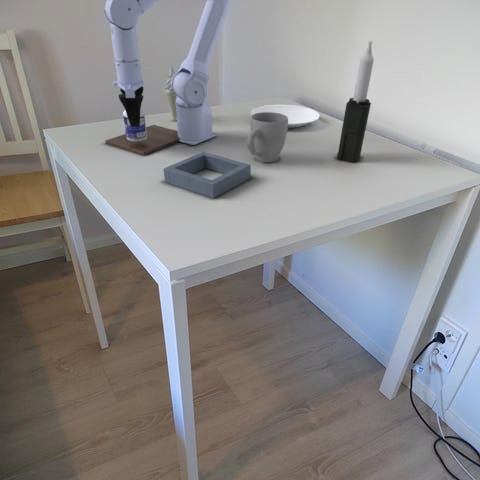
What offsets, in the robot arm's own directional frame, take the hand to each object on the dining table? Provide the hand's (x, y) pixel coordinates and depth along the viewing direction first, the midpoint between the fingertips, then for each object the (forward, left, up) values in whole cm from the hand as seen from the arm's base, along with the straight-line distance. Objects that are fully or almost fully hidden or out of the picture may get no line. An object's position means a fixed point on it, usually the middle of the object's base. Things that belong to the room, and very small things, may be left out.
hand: (135, 122), depth 107 cm
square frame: (+6, +28, -6) cm, 29 cm away
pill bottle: (0, 0, -4) cm, 4 cm away
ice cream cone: (-23, -8, -6) cm, 25 cm away
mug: (-12, +31, -6) cm, 34 cm away
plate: (-44, +18, -6) cm, 48 cm away
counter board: (-5, -1, -6) cm, 8 cm away
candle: (-27, +47, -6) cm, 54 cm away
